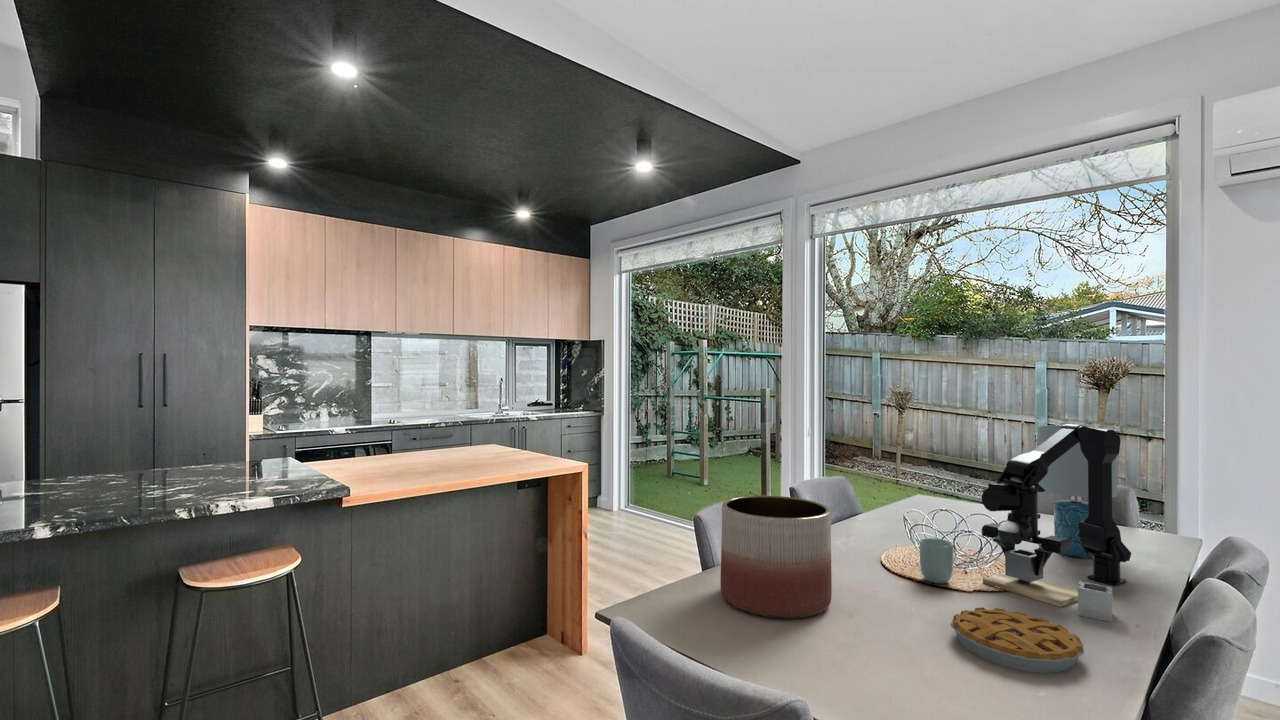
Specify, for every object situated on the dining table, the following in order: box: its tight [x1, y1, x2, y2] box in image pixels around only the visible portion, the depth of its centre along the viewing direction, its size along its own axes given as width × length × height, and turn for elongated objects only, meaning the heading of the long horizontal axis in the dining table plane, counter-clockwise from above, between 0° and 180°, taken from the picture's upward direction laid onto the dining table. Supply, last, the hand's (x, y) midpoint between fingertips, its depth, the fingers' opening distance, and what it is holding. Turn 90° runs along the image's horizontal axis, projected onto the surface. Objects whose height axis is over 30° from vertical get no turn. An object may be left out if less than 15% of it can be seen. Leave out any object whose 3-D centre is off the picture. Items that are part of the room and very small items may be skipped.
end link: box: [1004, 547, 1044, 582], centre depth 152 cm, size 6×6×6 cm
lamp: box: [1037, 425, 1118, 559], centre depth 181 cm, size 19×19×38 cm
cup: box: [919, 537, 954, 584], centre depth 156 cm, size 8×8×10 cm
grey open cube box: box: [1077, 580, 1113, 623], centre depth 136 cm, size 6×6×6 cm
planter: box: [720, 495, 833, 619], centre depth 142 cm, size 25×25×22 cm
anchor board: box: [982, 571, 1078, 608], centre depth 150 cm, size 12×18×6 cm, turn 31°
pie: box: [950, 607, 1085, 674], centre depth 118 cm, size 22×22×5 cm
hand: (1024, 571), depth 152 cm, fingers closed on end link, 6 cm apart
